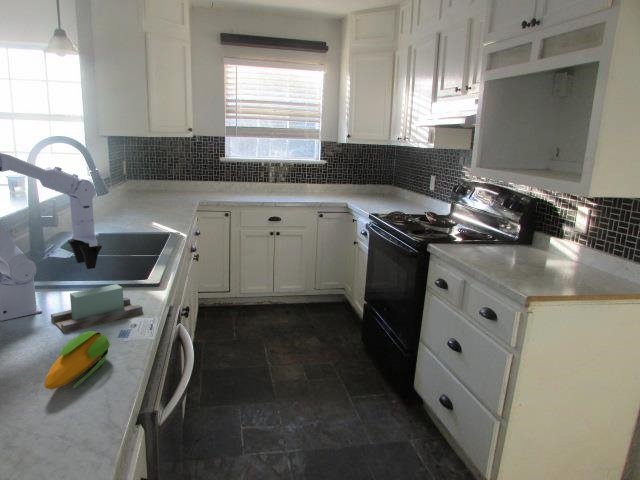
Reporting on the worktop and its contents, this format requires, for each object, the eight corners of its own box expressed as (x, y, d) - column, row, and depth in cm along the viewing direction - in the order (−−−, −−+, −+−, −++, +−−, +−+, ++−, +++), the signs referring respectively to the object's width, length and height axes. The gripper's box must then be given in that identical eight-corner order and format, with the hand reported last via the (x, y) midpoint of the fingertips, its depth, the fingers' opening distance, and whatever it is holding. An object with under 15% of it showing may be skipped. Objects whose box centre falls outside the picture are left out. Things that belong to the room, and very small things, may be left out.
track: (64, 332, 114) (64, 326, 114) (51, 320, 121) (50, 314, 121) (142, 313, 128) (142, 306, 128) (127, 302, 135) (126, 297, 135)
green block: (77, 323, 119) (75, 297, 117) (72, 318, 122) (69, 293, 120) (124, 311, 127) (122, 287, 126) (117, 307, 130) (116, 284, 129)
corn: (115, 322, 103) (65, 366, 84) (120, 353, 105) (72, 404, 86) (83, 322, 104) (25, 366, 84) (87, 354, 105) (32, 404, 86)
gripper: (107, 222, 132) (110, 268, 135) (87, 215, 142) (90, 257, 145) (81, 225, 127) (84, 273, 130) (62, 217, 137) (66, 261, 140)
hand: (86, 265), depth 137 cm, fingers open, 7 cm apart
